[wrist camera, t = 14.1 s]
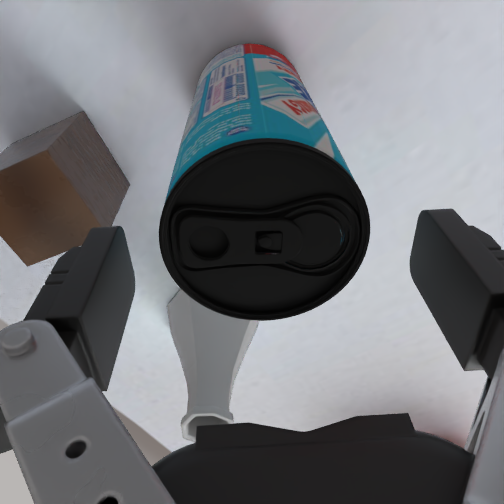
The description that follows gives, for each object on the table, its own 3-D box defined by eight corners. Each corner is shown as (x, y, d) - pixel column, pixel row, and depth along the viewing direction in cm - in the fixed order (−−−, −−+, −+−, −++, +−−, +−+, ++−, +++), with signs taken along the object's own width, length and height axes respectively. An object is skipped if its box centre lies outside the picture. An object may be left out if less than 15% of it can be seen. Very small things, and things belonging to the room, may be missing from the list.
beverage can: (287, 156, 27) (334, 332, 14) (190, 139, 26) (151, 309, 13) (314, 53, 23) (405, 164, 11) (204, 29, 22) (168, 121, 10)
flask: (273, 289, 32) (287, 402, 24) (244, 353, 36) (247, 470, 28) (178, 266, 31) (158, 379, 23) (158, 336, 35) (134, 454, 27)
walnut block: (63, 212, 28) (27, 267, 23) (11, 143, 26) (-42, 189, 21) (130, 184, 27) (107, 235, 22) (84, 110, 25) (46, 149, 20)
